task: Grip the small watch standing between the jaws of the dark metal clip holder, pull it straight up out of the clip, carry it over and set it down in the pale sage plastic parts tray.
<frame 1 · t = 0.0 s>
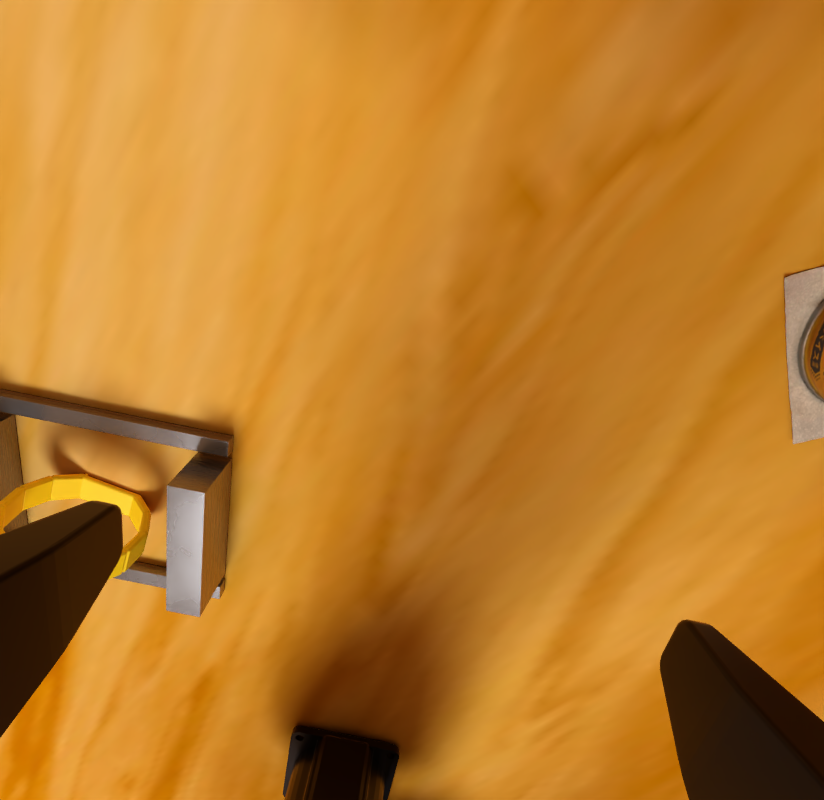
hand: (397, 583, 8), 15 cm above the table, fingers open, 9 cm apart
clip holder: (109, 494, 26), on the table
watch: (112, 492, 26), on the table
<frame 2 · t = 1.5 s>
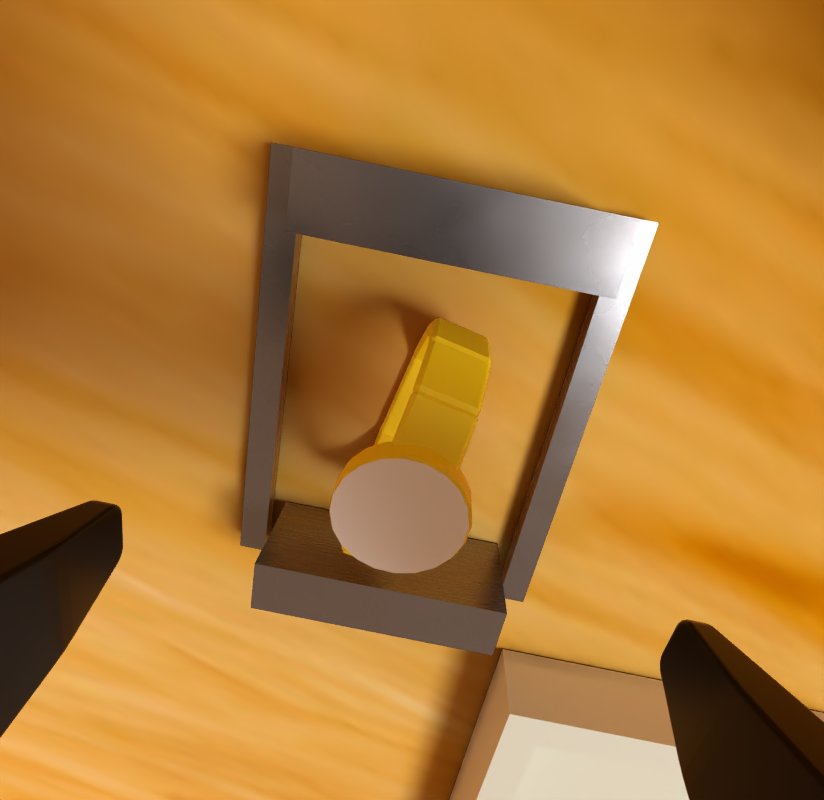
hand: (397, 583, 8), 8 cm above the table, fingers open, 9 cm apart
clip holder: (418, 400, 15), on the table
watch: (419, 397, 16), on the table
parts tray: (613, 788, 21), on the table
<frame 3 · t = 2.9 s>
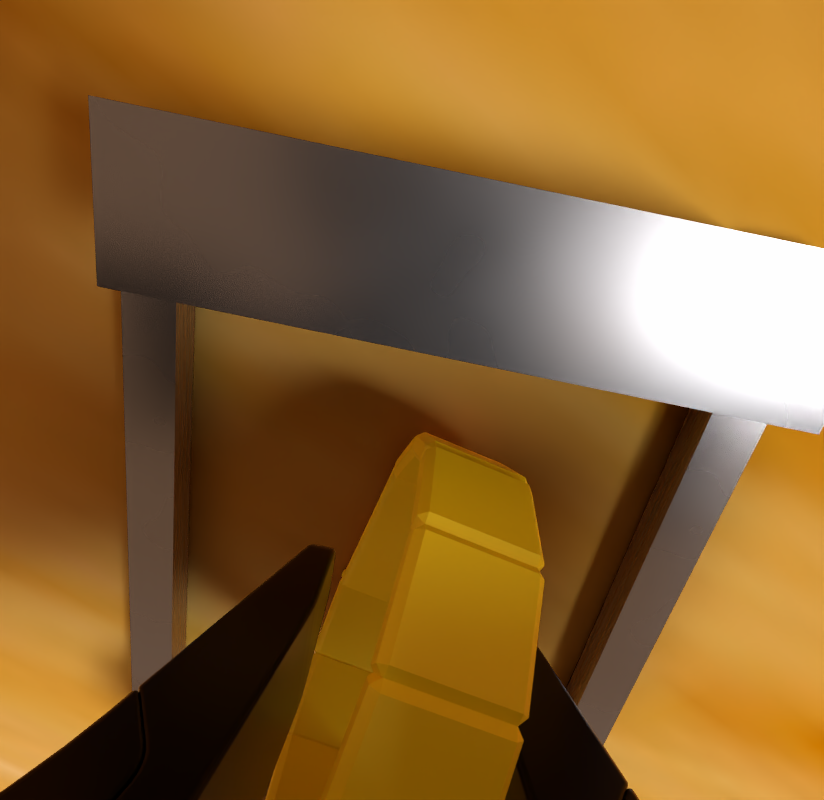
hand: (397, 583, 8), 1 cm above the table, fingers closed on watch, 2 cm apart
clip holder: (403, 535, 10), on the table
watch: (404, 528, 10), on the table, touching gripper
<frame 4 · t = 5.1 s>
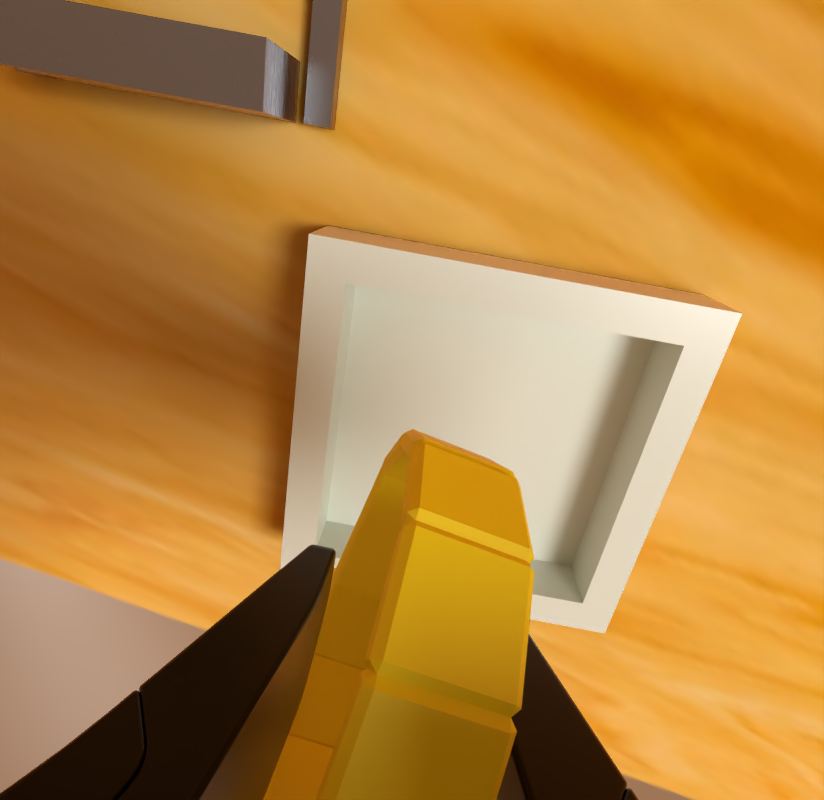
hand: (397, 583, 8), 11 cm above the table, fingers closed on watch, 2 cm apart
watch: (393, 525, 10), point 10 cm above the table, touching gripper
parts tray: (475, 428, 20), on the table
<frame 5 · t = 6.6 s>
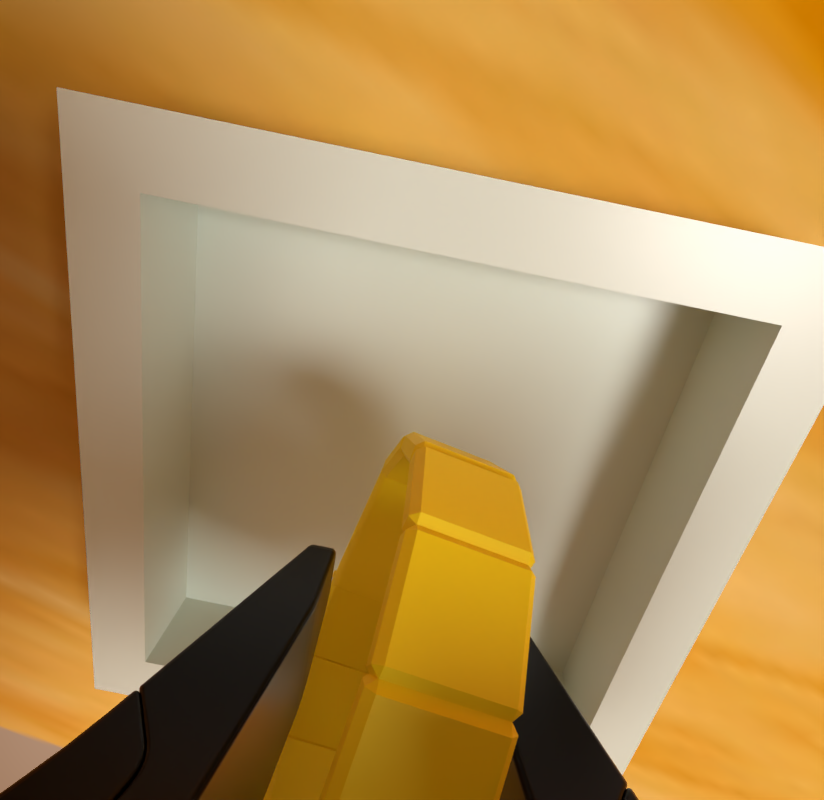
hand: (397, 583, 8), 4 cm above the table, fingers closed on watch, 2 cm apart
watch: (394, 527, 10), point 3 cm above the table, touching gripper
parts tray: (412, 461, 12), on the table
when the fingers open (3 cm above the table, at t = 7.5 s): watch stays where it is, resting on parts tray.
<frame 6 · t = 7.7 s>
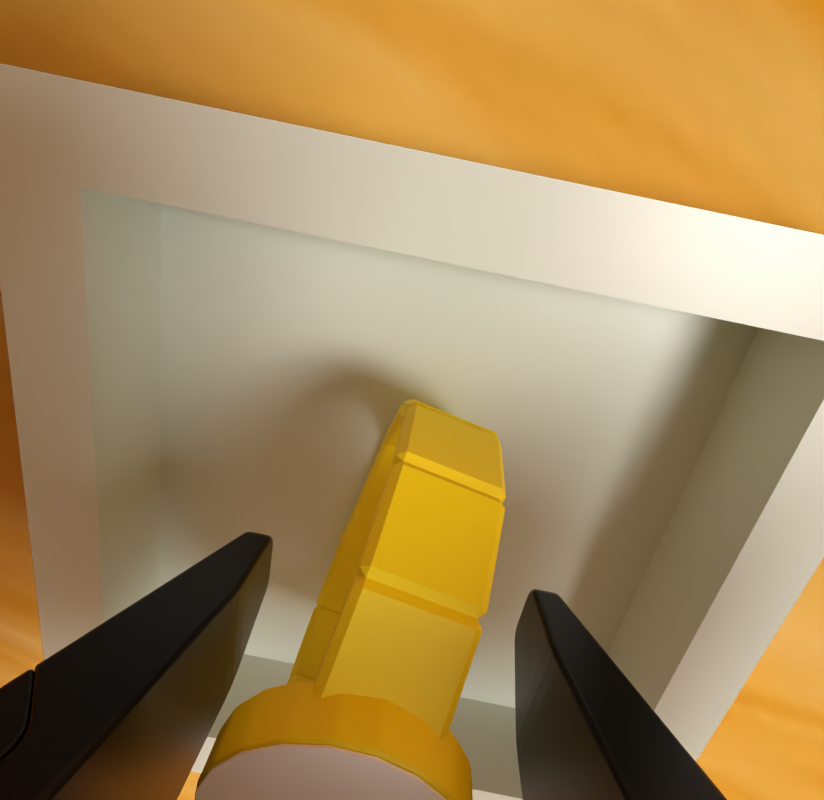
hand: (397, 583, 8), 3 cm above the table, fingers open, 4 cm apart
watch: (396, 493, 11), resting on parts tray
parts tray: (409, 490, 11), on the table
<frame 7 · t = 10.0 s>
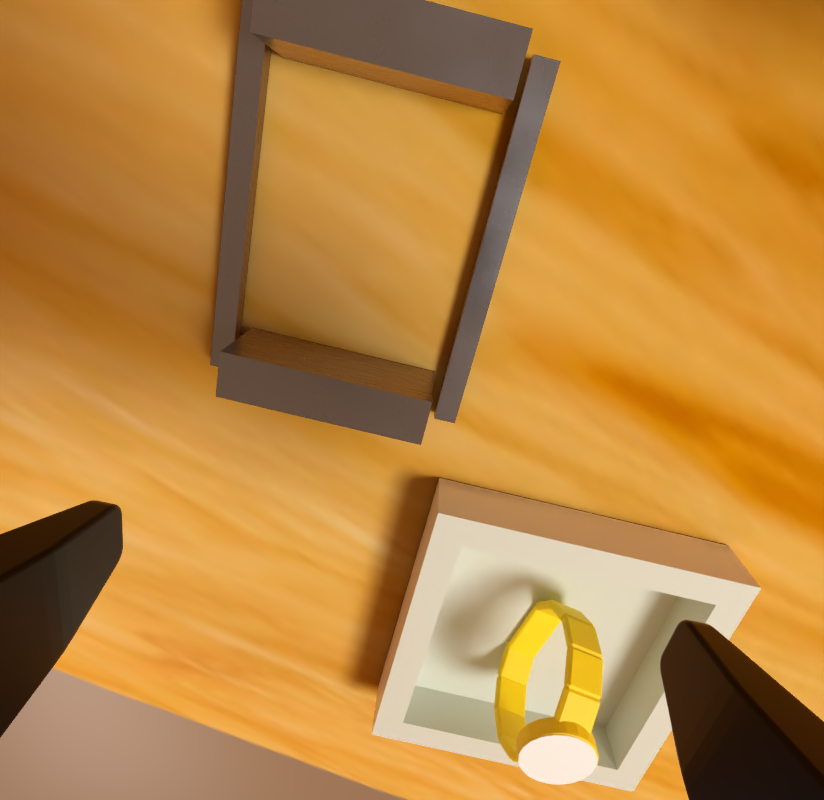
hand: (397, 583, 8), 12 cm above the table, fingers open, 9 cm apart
clip holder: (366, 230, 18), on the table
watch: (533, 625, 24), resting on parts tray
parts tray: (537, 622, 24), on the table
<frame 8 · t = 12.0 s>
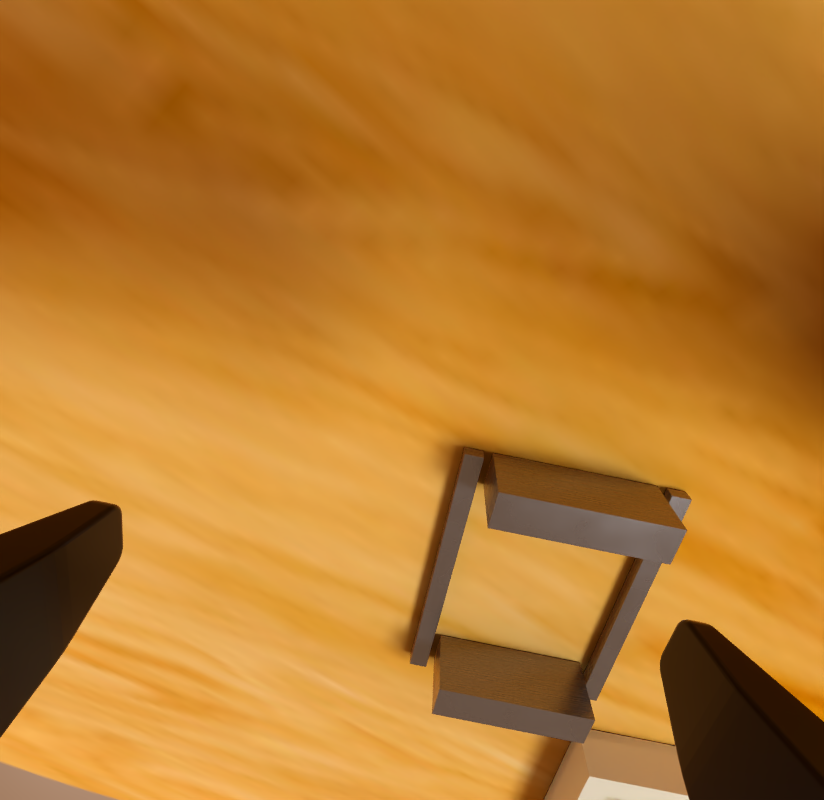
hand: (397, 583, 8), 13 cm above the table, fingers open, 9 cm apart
clip holder: (535, 580, 24), on the table
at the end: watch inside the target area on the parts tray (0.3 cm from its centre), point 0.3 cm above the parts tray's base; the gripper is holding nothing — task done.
